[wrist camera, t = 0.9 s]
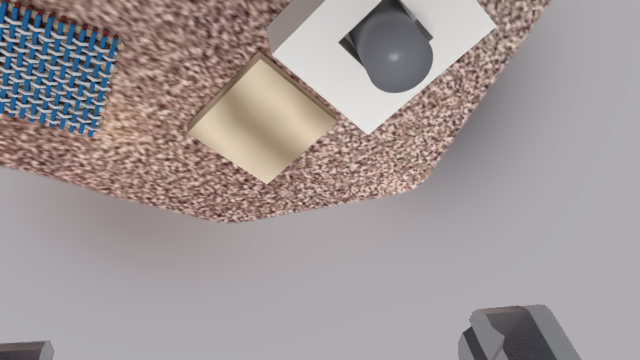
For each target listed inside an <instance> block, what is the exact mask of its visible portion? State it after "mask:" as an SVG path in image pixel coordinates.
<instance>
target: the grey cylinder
mask: <svg viewBox="0 0 640 360" xmlns="http://www.w3.org/2000/svg"><path fill="white" fill-rule="evenodd" d="M348 34H349V36H350V39H351V41H352V43H353V45H354V47H355V49H356V51H357V53H358V55H359V57H360V59H361V61H362V63H363V65H364V68H365V70H366V72H367V74H368V76H369V78H370V80H371V82H372V83H373V84H374V85H375V86H376V87H377V88H378V89H380V90H382V91H384V92H388V93H401V92H405V91H408V90H410V89H412V88H414V87H416V86H417V85H418V84H420V83H421V82H422V81H423V80H424V79H425V77H426V76H427V75H428V73H429V71H430V69H431V67H432V63H433V51H432V48H431V45H430V43H429V42H428V41H427V39H426V38H425V37H424V35H423V34H422V32H421V31H420V30H419V28H418V27H417V26H416V24H415V23H414V21H413V20H412V19H411V17H410V16H409V15H408V13H407V12H406V11H405V9H404V8H403V6H402V5H401V4H400V2H399V1H398V0H382V1H381V2H380V3H379V4H378V5H377V6H376V7H375V8H374V9H373V10H371V11H370V12H369V13H368V14H367V15H366V16H365V17H364V18H363V19H362V20H361V21H360V22H359V23H358V24H357V25H356V26H355V27H354V28H353V29H352V30H351V31H350V32H348Z"/></svg>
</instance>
